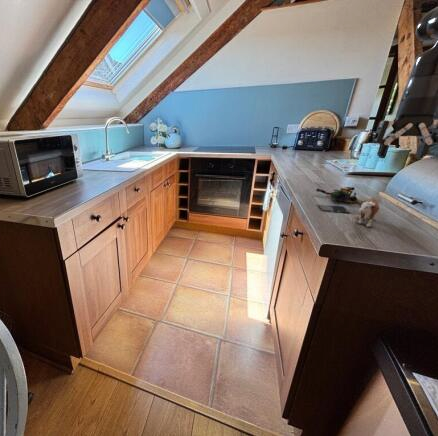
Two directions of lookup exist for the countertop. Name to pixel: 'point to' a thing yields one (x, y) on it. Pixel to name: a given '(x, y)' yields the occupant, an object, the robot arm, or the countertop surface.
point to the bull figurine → (368, 210)
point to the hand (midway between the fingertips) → (399, 158)
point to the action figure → (342, 195)
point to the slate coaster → (333, 208)
